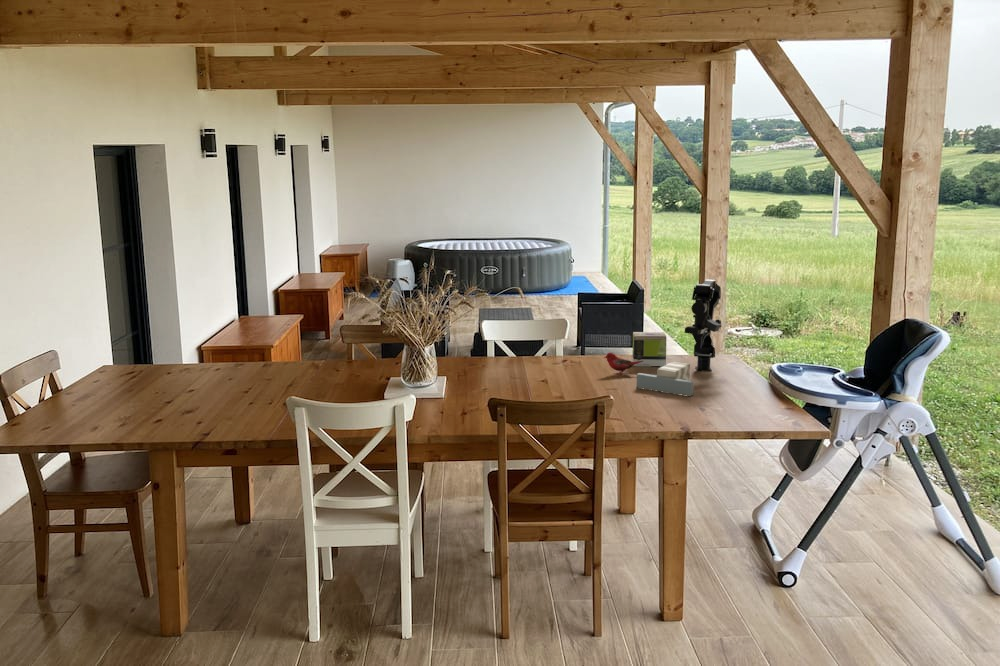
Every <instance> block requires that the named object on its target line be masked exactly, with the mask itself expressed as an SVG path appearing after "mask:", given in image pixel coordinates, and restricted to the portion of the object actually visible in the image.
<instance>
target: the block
mask: <svg viewBox="0 0 1000 666" xmlns="http://www.w3.org/2000/svg"><path fill="white" fill-rule="evenodd" d="M690 370H691V364H690V363H685V362H679V361H671V362H668V363H666V365H664V366H663V367H658V368H656V376H662V377H669V378H675V379H682V380H688V381H690V373H691V372H690Z"/></svg>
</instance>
